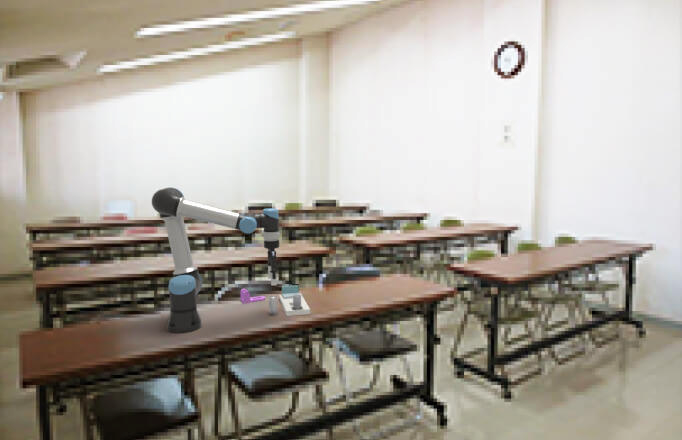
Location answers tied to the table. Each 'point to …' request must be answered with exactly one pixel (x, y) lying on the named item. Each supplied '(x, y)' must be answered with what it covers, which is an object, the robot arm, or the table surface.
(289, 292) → the lid
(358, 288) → the table surface
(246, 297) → the bracket
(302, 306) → the housing
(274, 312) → the jaw pin
